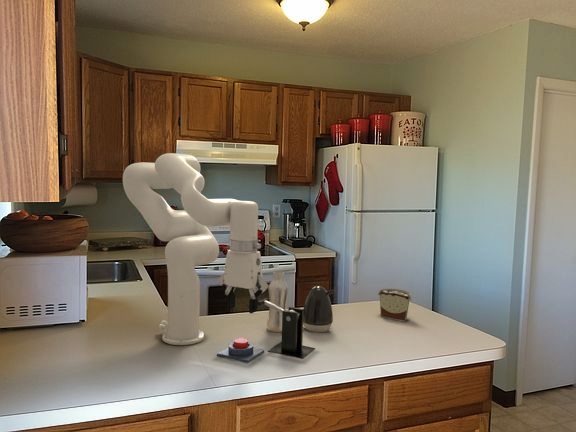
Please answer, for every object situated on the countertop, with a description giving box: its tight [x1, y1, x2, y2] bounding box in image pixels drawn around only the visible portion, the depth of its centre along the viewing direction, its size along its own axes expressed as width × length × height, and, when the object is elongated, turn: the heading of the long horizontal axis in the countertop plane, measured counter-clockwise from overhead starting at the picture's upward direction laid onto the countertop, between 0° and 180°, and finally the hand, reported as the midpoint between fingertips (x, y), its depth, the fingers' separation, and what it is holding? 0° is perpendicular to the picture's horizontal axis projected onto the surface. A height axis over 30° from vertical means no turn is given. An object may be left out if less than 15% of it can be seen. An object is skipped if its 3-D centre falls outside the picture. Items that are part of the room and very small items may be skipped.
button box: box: [216, 341, 265, 364], centre depth 133 cm, size 10×9×4 cm
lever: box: [258, 297, 300, 318], centre depth 139 cm, size 12×6×2 cm, turn 64°
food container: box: [377, 288, 412, 323], centre depth 176 cm, size 12×6×10 cm, turn 58°
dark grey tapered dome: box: [303, 285, 336, 333], centre depth 157 cm, size 10×10×15 cm
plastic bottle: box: [266, 270, 289, 333], centre depth 155 cm, size 6×7×20 cm
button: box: [233, 337, 249, 348], centre depth 133 cm, size 4×4×2 cm
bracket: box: [267, 306, 316, 360], centre depth 137 cm, size 11×9×13 cm
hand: (241, 309), depth 132 cm, fingers open, 6 cm apart
